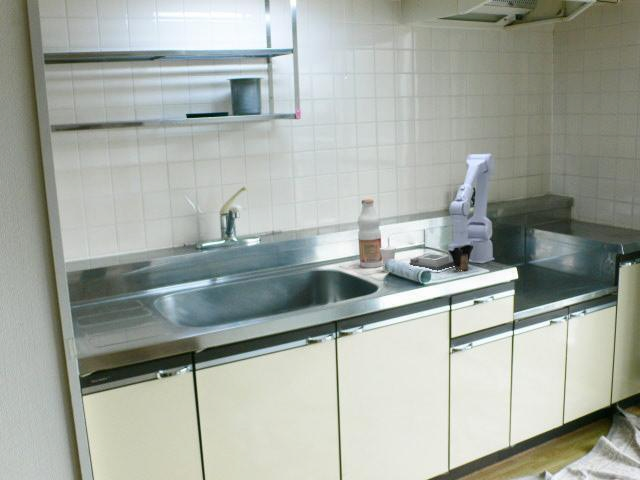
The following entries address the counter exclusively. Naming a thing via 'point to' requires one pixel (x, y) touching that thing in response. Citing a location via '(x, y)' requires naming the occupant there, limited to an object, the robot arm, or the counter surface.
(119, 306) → the counter surface
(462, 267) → the brown short cylinder
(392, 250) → the smoothie
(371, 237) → the fruit juice
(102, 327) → the counter surface
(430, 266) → the grey square box
